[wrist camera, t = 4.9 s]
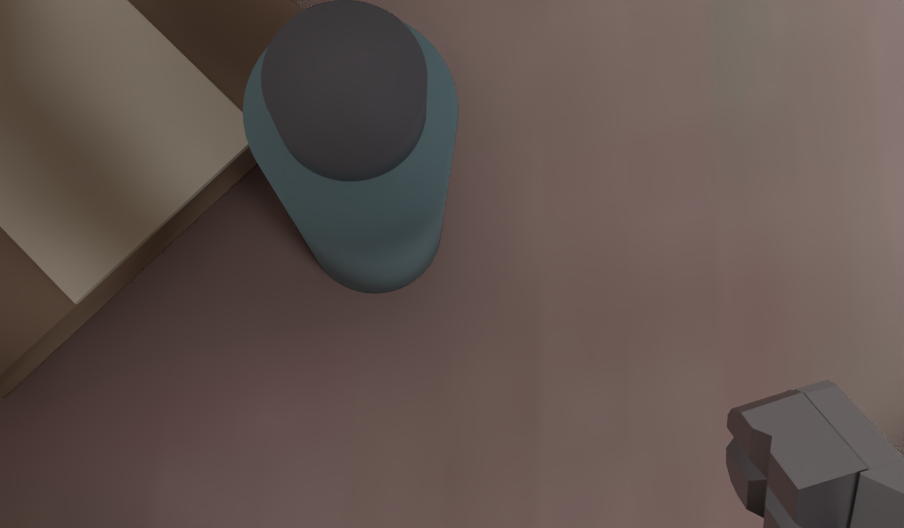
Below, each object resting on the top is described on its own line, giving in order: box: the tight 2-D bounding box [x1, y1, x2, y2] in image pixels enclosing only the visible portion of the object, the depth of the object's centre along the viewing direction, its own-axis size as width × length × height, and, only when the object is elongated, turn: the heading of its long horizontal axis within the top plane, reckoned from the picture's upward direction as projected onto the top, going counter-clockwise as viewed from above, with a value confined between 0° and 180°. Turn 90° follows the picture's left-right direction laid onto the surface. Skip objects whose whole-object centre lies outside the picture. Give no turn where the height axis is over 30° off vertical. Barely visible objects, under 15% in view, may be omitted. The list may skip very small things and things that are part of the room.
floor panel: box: [0, 0, 303, 397], centre depth 25 cm, size 14×14×2 cm
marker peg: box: [243, 0, 458, 293], centre depth 20 cm, size 4×4×12 cm
